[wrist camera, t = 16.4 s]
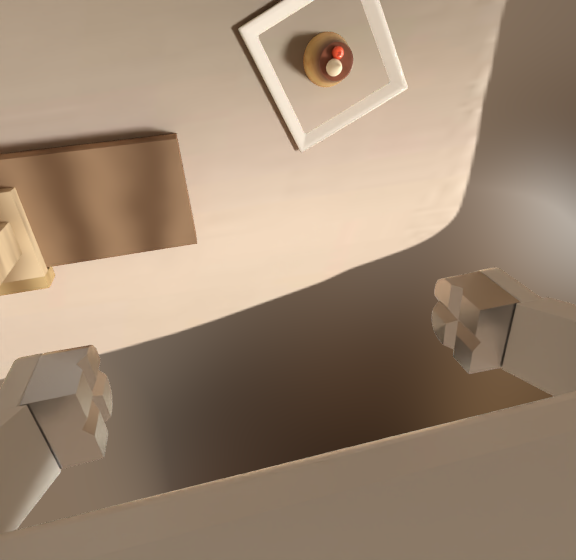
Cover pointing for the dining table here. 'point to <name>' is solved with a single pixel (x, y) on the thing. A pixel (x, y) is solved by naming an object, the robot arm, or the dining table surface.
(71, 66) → the dining table surface
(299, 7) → the dessert
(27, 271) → the stacked wooden blocks
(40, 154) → the board
